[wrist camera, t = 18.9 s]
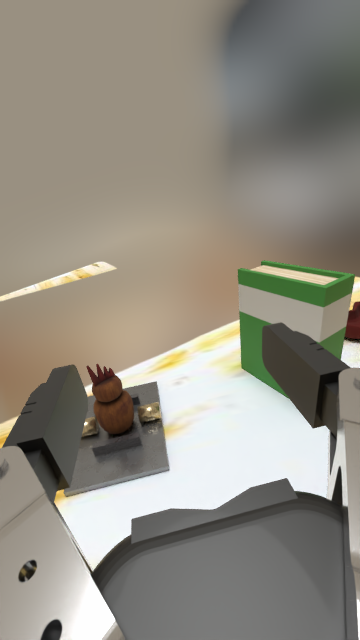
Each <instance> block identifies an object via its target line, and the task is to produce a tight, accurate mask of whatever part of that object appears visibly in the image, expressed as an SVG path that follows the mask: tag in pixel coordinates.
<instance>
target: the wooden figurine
mask: <svg viewBox="0 0 360 640" xmlns="http://www.w3.org/2000/svg"><path fill="white" fill-rule="evenodd" d="M87 369H88V372H89V374H90V377H91V380H92V382H93V386H92V392H93V395H94V397H95V398H96V400H95V402H94V406H93V409H94V414H95V416H96V418H97V421H98V423H99V425H100V426H101V427H102V429H104V430H105V431H106V432H108V433H110V434H119V433H122V432H124V431H126V430H127V429H129V428H130V426H131V425H132V423H133V420H134V407H133V401H132V398H131V396H130V394H129V393H128V392H127V391H125V390H122V383H121V380H120V379H119V378H118V377H117V376H116V375H115V374H114V372H113V371H112V369H111V368H109V372H108V371H107V369H106V367H105V366H104V374H103V372H102V370H101V369H100V367H99V365H98V364H97V374H98V377H97V376H96V375H95V373H94V372H93V371H92V370H91V369H90V367H89V366H87Z"/></svg>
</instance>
